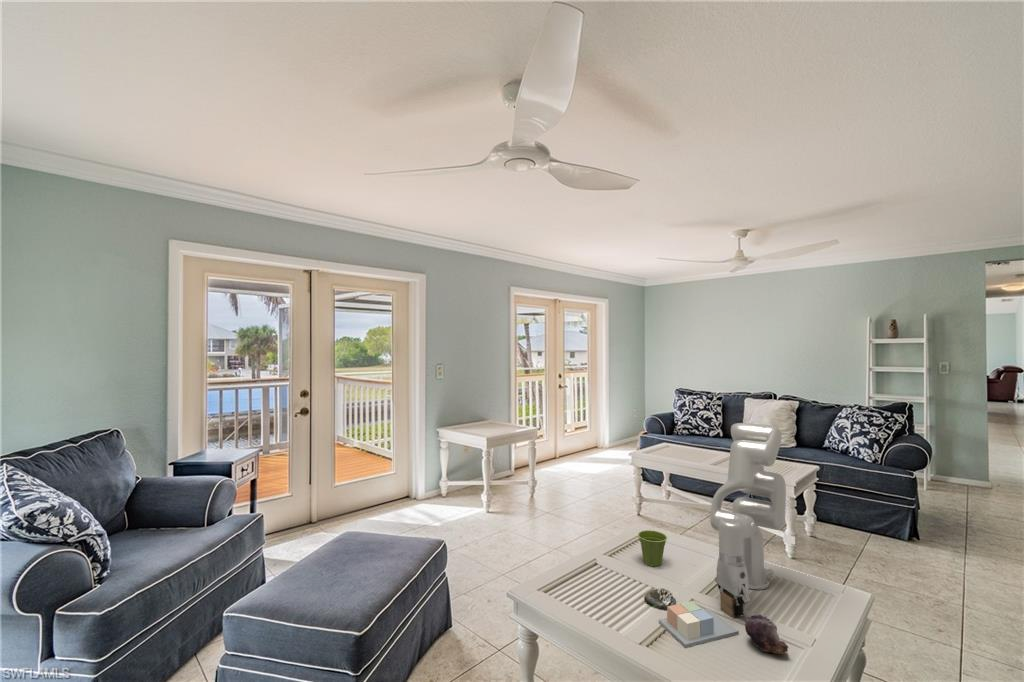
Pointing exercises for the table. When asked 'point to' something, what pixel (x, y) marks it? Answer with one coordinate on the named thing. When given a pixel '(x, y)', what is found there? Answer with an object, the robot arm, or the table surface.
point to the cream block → (688, 625)
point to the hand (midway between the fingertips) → (731, 610)
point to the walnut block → (728, 603)
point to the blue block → (704, 622)
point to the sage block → (691, 606)
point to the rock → (764, 634)
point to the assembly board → (720, 631)
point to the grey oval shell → (660, 599)
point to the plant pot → (652, 546)
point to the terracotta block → (675, 614)
